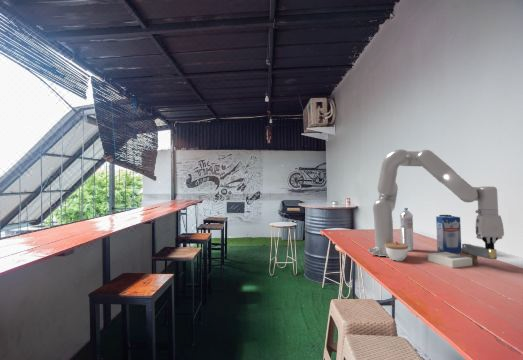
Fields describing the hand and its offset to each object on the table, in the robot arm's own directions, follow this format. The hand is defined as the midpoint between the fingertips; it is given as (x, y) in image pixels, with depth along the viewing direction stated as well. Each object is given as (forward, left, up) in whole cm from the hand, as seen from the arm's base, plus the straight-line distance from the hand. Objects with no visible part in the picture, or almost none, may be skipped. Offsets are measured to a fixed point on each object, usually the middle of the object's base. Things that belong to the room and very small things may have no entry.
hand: (489, 251), depth 137 cm
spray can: (+13, +35, -7) cm, 38 cm away
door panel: (-13, +10, -7) cm, 18 cm away
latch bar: (-5, +1, -2) cm, 6 cm away
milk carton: (+7, +28, -7) cm, 30 cm away
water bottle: (-11, +40, -7) cm, 42 cm away
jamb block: (-5, +7, -7) cm, 11 cm away
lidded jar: (-32, +24, -7) cm, 41 cm away
